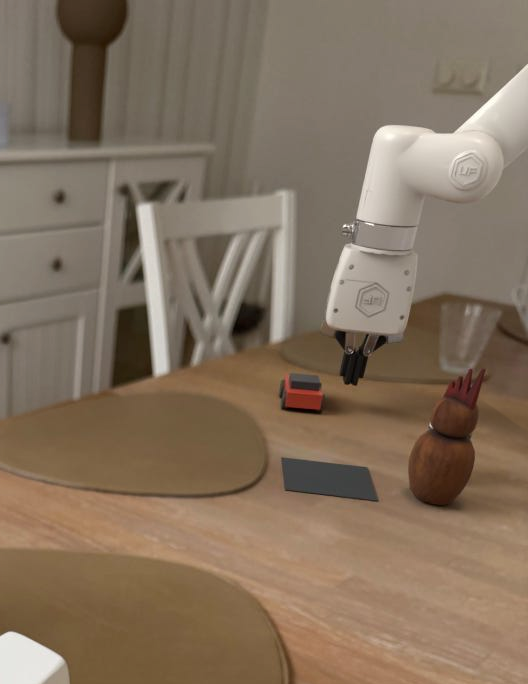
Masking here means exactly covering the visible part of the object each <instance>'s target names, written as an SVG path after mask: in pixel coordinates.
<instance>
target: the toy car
mask: <svg viewBox="0 0 528 684" xmlns="http://www.w3.org/2000/svg"><path fill="white" fill-rule="evenodd" d="M322 387H323V385H322V382H321V381H320V377H319V375H317V374H305V373H294V372H290V373H289V375H288V374H285V375H284V378H282V379H281V380H280V386H279V393H278V397H279V398H281V402H280V409H281V410H288V408H294V409H295V408H296V409H306V410H308V409H309V410H315V413H322V412H323V410H324V407H325V401H326V394H324V393H323V391H322Z"/></svg>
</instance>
